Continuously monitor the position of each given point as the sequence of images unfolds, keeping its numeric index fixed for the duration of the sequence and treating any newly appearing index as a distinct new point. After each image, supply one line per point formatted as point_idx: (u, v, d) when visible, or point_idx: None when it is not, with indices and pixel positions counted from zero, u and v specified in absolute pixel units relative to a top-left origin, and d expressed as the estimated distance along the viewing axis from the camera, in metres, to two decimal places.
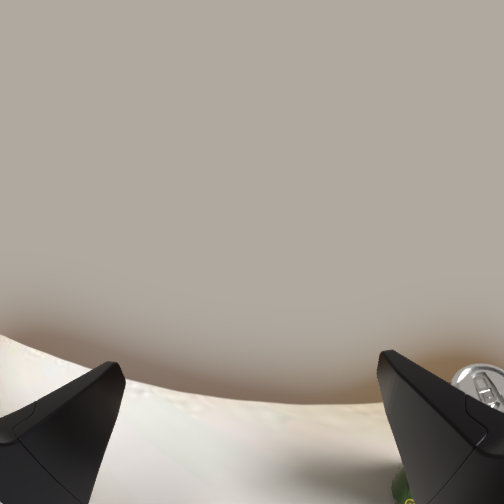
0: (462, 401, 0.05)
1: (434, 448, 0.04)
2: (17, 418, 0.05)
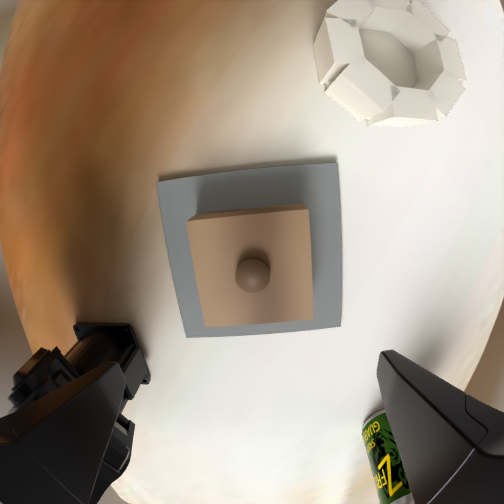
0: (462, 401, 0.05)
1: (434, 448, 0.04)
2: (17, 418, 0.05)
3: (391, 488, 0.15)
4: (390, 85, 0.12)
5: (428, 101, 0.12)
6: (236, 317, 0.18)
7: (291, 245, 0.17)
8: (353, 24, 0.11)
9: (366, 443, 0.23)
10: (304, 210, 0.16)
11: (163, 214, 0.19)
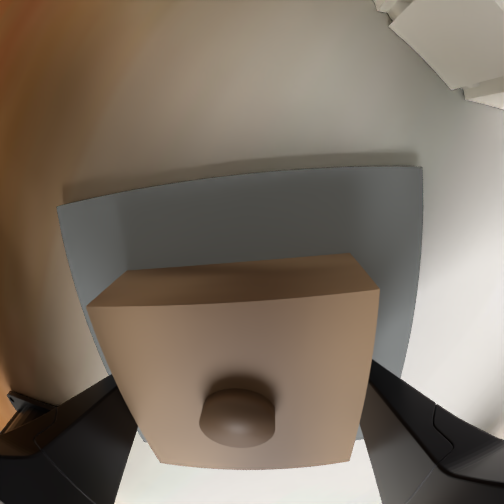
0: (430, 412, 0.05)
1: (399, 459, 0.04)
2: (37, 427, 0.05)
3: None
4: None
5: None
6: (211, 461, 0.08)
7: (328, 367, 0.06)
8: None
9: None
10: (369, 292, 0.06)
11: (73, 267, 0.09)
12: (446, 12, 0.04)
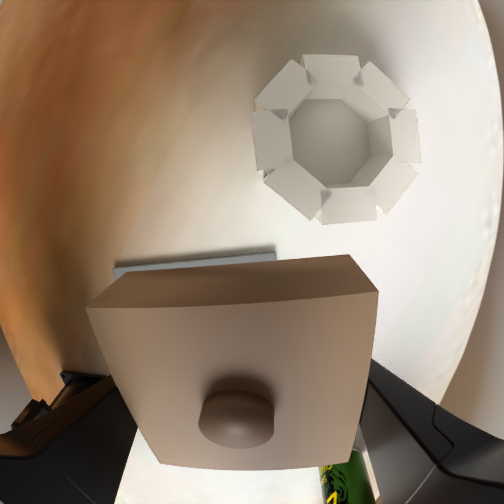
0: (430, 412, 0.05)
1: (399, 459, 0.04)
2: (37, 427, 0.05)
3: None
4: (320, 188, 0.14)
5: (366, 200, 0.14)
6: (210, 461, 0.08)
7: (326, 369, 0.07)
8: (283, 115, 0.13)
9: (320, 477, 0.24)
10: (368, 294, 0.06)
11: None
12: None
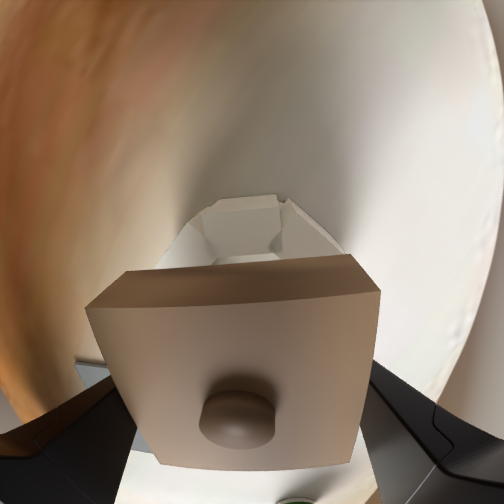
0: (430, 412, 0.05)
1: (399, 459, 0.04)
2: (37, 427, 0.05)
3: None
4: None
5: None
6: (211, 462, 0.08)
7: (328, 369, 0.06)
8: None
9: None
10: (370, 293, 0.06)
11: (84, 384, 0.20)
12: None
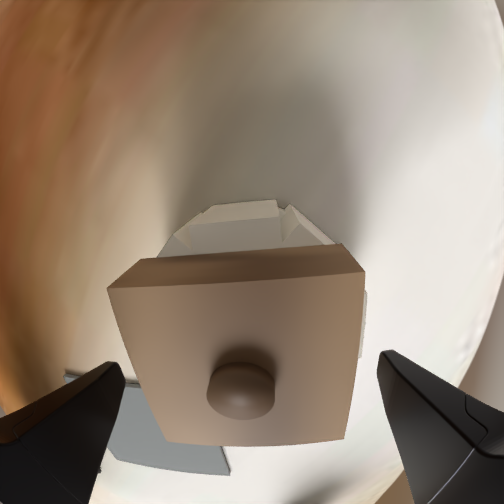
0: (462, 401, 0.05)
1: (434, 448, 0.04)
2: (17, 418, 0.05)
3: None
4: None
5: None
6: (215, 437, 0.09)
7: (321, 342, 0.08)
8: None
9: None
10: (356, 274, 0.07)
11: None
12: None
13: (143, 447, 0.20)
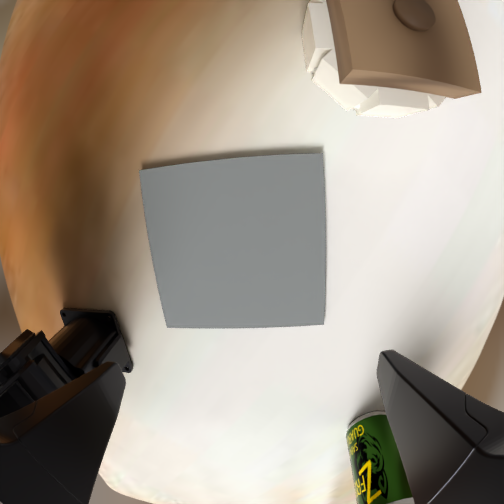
0: (462, 401, 0.05)
1: (434, 448, 0.04)
2: (17, 418, 0.05)
3: (370, 496, 0.15)
4: None
5: None
6: (397, 62, 0.09)
7: (444, 2, 0.07)
8: None
9: (349, 447, 0.22)
10: None
11: (145, 202, 0.19)
12: (328, 77, 0.13)
13: (219, 280, 0.20)
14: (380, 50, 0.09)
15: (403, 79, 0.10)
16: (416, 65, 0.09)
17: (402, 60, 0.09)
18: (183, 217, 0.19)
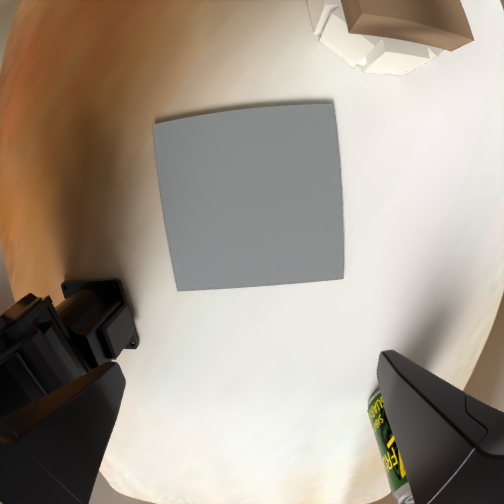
0: (462, 401, 0.05)
1: (434, 448, 0.04)
2: (17, 418, 0.05)
3: (403, 468, 0.14)
4: None
5: None
6: (399, 10, 0.09)
7: None
8: None
9: (373, 420, 0.21)
10: None
11: (157, 156, 0.18)
12: (336, 33, 0.13)
13: (234, 233, 0.19)
14: (383, 1, 0.09)
15: (405, 26, 0.09)
16: (415, 14, 0.09)
17: (403, 9, 0.09)
18: (197, 168, 0.18)
